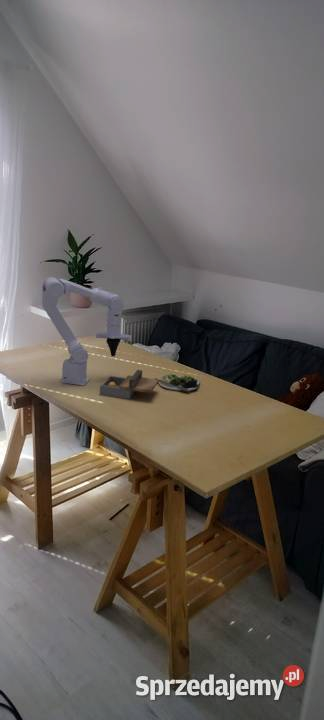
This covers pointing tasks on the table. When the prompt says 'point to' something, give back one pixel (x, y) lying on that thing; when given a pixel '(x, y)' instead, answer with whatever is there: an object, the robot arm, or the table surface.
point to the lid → (138, 383)
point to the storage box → (115, 388)
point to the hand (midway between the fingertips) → (113, 355)
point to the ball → (112, 384)
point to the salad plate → (179, 383)
